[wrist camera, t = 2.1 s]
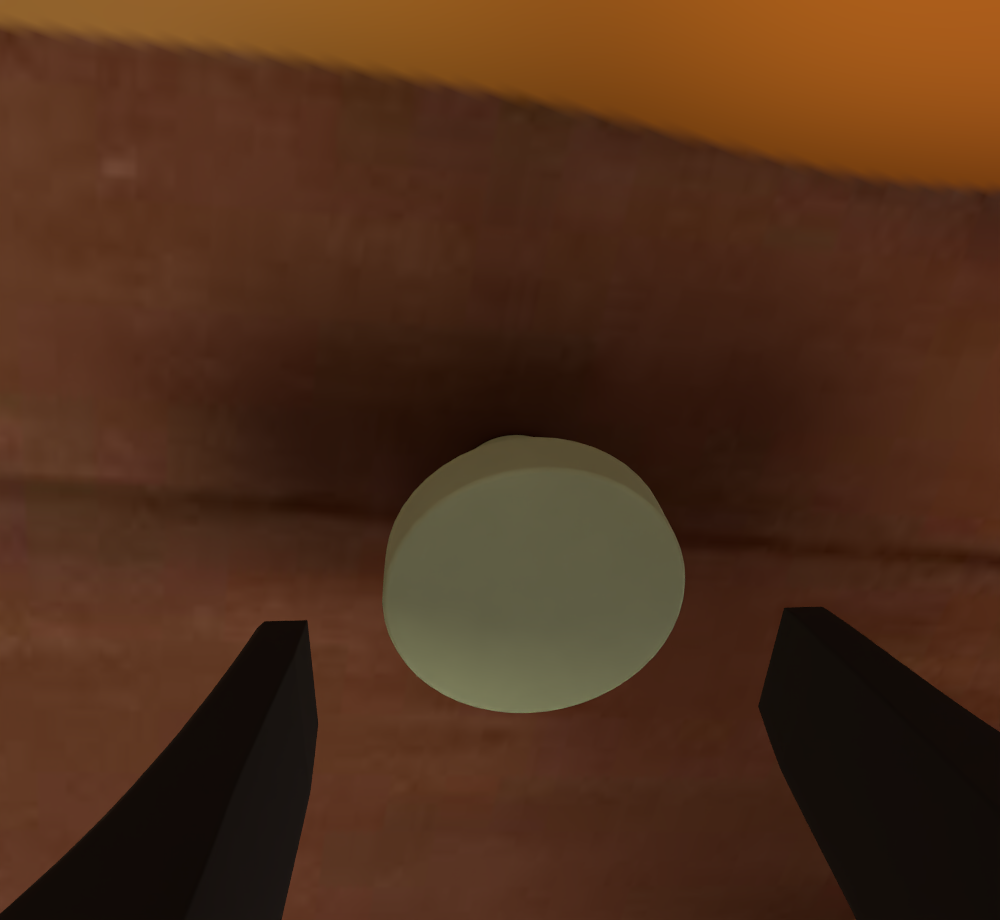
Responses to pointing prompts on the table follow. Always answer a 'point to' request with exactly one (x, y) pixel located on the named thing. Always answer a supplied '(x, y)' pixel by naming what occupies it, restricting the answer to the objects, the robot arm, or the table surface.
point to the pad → (531, 576)
